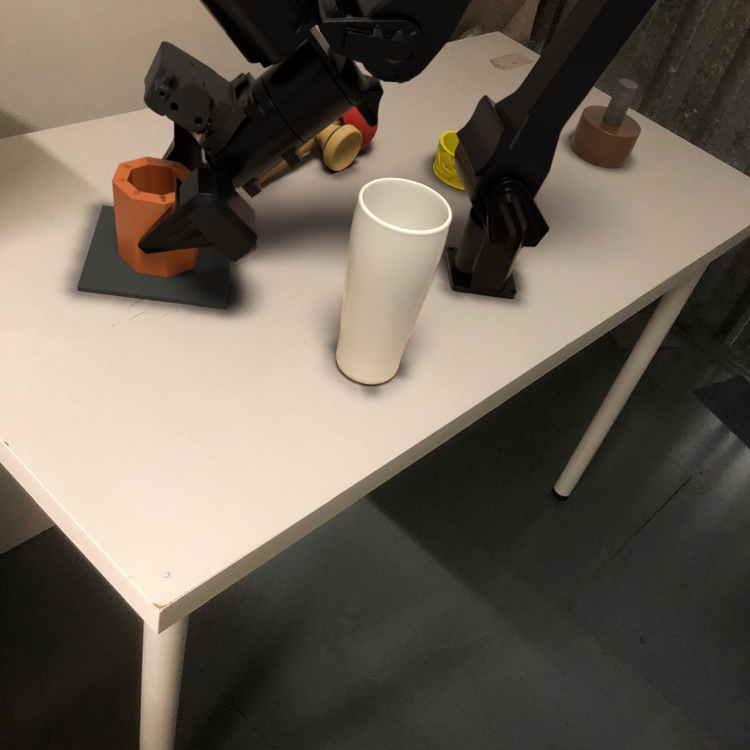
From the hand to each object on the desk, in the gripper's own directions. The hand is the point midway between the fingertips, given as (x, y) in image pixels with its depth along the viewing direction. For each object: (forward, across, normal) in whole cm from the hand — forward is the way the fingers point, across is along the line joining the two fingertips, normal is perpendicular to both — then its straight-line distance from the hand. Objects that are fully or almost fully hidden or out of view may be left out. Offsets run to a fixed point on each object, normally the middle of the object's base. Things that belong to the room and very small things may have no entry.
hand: (142, 223), depth 63 cm
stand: (-37, -28, +41) cm, 62 cm away
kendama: (-10, -18, +14) cm, 25 cm away
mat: (+1, 0, +3) cm, 4 cm away
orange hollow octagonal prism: (+1, 0, +3) cm, 3 cm away
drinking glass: (-10, +13, +15) cm, 23 cm away
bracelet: (-23, -19, +27) cm, 40 cm away
